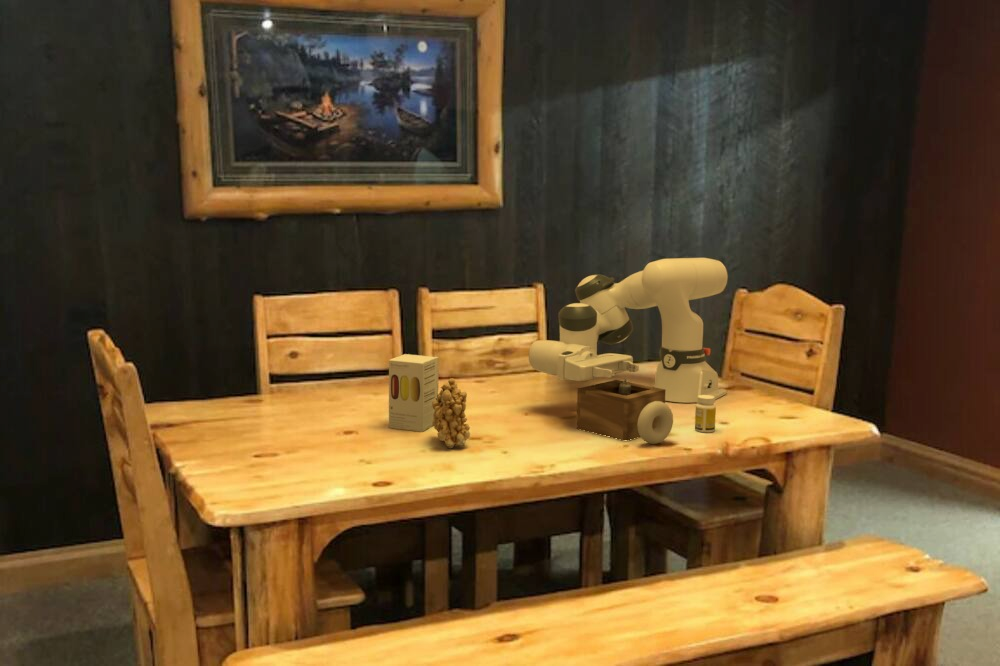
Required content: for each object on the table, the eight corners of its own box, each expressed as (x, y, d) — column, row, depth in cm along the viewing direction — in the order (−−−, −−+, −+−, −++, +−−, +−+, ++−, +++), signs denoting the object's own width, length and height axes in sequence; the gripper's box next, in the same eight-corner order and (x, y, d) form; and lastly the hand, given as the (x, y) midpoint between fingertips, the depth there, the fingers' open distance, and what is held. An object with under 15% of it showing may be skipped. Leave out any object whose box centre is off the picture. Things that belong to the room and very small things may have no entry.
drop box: (614, 418, 233) (616, 379, 232) (663, 429, 223) (665, 389, 221) (576, 428, 223) (577, 388, 221) (626, 441, 212) (627, 399, 211)
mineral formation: (440, 452, 202) (440, 386, 199) (422, 437, 214) (422, 374, 212) (474, 449, 205) (475, 383, 202) (455, 434, 217) (455, 371, 215)
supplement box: (387, 428, 221) (386, 359, 219) (404, 419, 230) (403, 353, 227) (423, 432, 218) (423, 362, 215) (439, 423, 227) (439, 356, 224)
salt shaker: (632, 431, 219) (635, 383, 216) (608, 429, 220) (610, 380, 218) (636, 424, 224) (639, 377, 222) (613, 422, 226) (615, 374, 223)
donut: (643, 448, 207) (645, 405, 205) (633, 445, 209) (634, 402, 208) (675, 442, 212) (677, 400, 211) (664, 438, 215) (666, 397, 213)
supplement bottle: (715, 428, 224) (717, 395, 223) (713, 433, 220) (715, 399, 219) (695, 427, 226) (697, 393, 225) (693, 431, 221) (695, 397, 220)
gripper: (606, 369, 237) (650, 378, 228) (553, 381, 223) (598, 390, 213) (606, 345, 236) (651, 352, 227) (554, 355, 222) (598, 363, 212)
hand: (625, 371), depth 220 cm, fingers open, 8 cm apart
